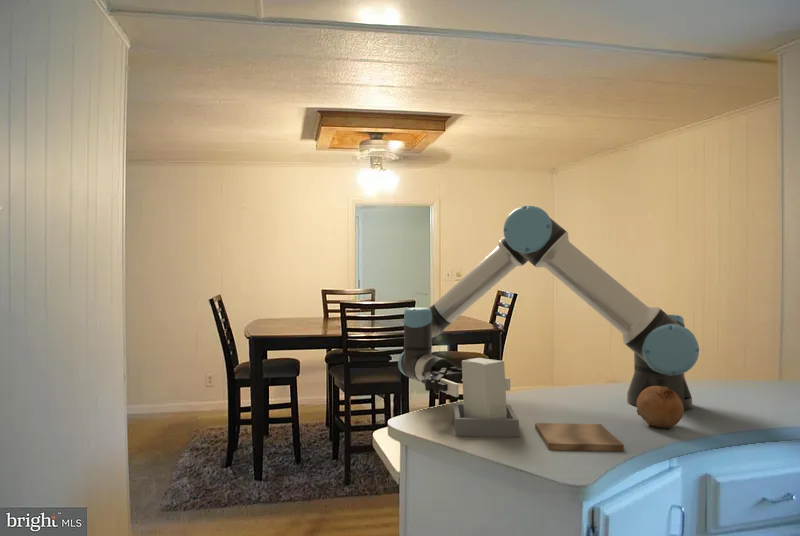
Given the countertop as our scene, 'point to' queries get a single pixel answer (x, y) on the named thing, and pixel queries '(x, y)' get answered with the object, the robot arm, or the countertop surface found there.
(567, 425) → the coaster
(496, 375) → the skincare box
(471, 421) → the holder
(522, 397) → the countertop surface
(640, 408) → the onion
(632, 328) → the robot arm
